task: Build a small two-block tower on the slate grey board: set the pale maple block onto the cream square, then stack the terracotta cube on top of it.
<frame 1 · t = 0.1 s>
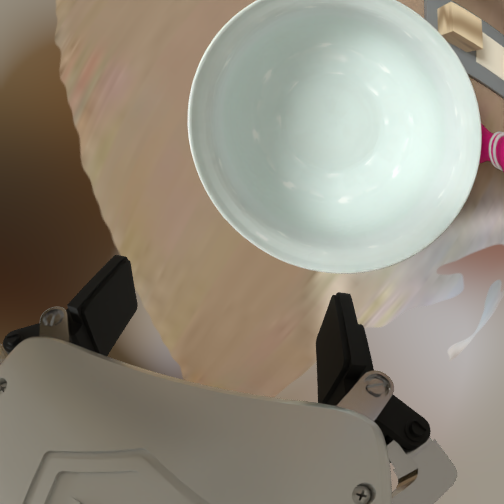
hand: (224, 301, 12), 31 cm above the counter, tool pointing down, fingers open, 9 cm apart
pepper mill: (454, 136, 32), on the counter
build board: (482, 50, 22), on the counter
bowl: (332, 122, 35), on the counter
maple block: (452, 30, 21), point 1 cm above the counter, touching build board
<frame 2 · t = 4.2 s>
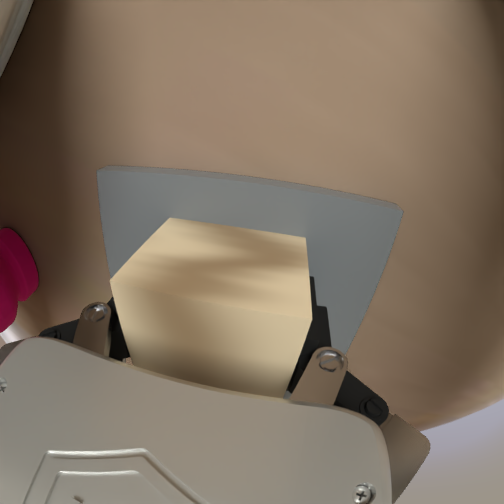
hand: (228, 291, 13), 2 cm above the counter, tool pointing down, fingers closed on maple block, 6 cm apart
pepper mill: (19, 258, 17), on the counter
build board: (227, 362, 18), on the counter
maple block: (230, 283, 13), point 1 cm above the counter, touching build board, gripper
when the fingers open (3 cm above the counter, at t = 9.4 s): maple block drops 2 cm, resting on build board.
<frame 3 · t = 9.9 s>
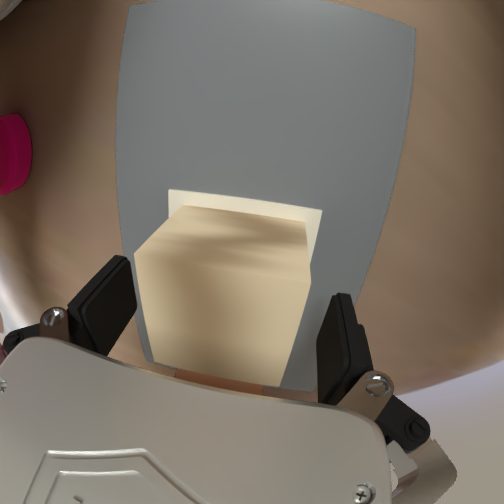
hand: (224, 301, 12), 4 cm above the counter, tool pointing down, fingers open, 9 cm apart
pepper mill: (14, 150, 14), on the counter
terracotta cube: (228, 358, 19), point 1 cm above the counter, touching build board
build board: (242, 231, 15), on the counter
maple block: (237, 265, 14), point 1 cm above the counter, touching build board
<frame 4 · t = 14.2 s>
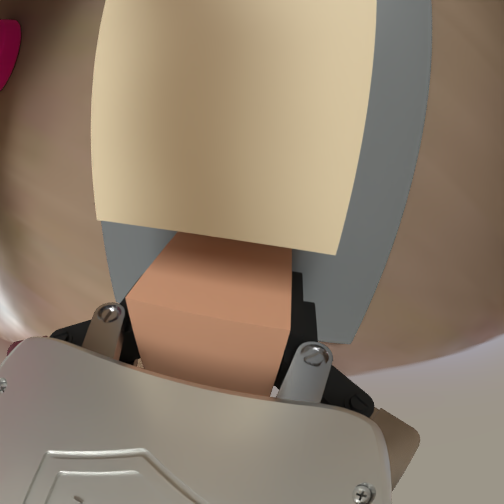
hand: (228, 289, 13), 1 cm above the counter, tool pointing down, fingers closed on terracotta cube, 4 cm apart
pepper mill: (2, 57, 8), on the counter
terracotta cube: (230, 284, 13), point 1 cm above the counter, touching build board, gripper
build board: (254, 73, 9), on the counter
maple block: (247, 105, 9), point 1 cm above the counter, touching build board
when the fingers open (8 cm above the counter, at t = 18.7 s): terracotta cube drops 1 cm, resting on maple block.
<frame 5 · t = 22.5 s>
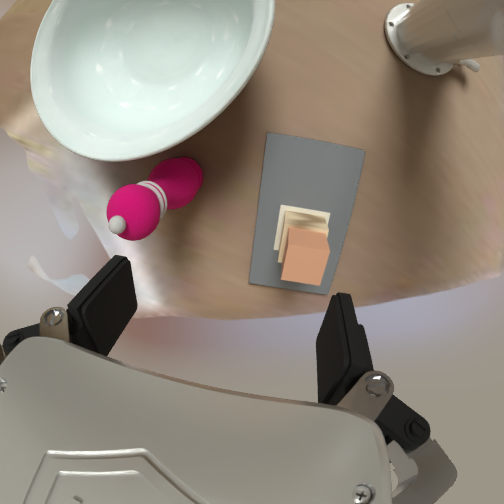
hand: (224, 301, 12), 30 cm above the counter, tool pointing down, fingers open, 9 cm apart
pepper mill: (184, 175, 41), on the counter
terracotta cube: (303, 246, 37), point 6 cm above the counter, touching maple block
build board: (302, 220, 42), on the counter
bowl: (170, 47, 31), on the counter
maple block: (301, 231, 41), point 1 cm above the counter, touching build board, terracotta cube
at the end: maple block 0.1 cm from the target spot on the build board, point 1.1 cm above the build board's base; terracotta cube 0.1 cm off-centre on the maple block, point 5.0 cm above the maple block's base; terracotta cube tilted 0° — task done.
